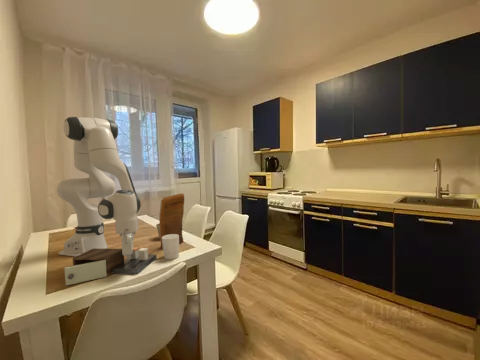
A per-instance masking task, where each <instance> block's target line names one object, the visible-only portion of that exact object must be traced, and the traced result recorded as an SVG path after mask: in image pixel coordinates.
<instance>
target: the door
mask: <svg viewBox="0 0 480 360" xmlns="http://www.w3.org/2000/svg"><path fill="white" fill-rule="evenodd" d="M107 276H108V275H107V272H106V260H101V261H96V262H91V263H86V264H81V265H75V266H73V265H72V266H67V267H66V266H65V267H64V280H65V286H71V285H75V284H79V283H84V282H88V281H92V280H96V279H101V278H107Z"/></svg>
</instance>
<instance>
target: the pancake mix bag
mask: <svg viewBox="0 0 480 360" xmlns="http://www.w3.org/2000/svg"><path fill="white" fill-rule="evenodd" d="M184 207H185V194H184V193H183V192H182V193H177V194H173V195H168V196H164V197H162V199H161V200H160V209H159V223H158V224H160V239H159V240H160V250H163V245H162V237H163V236H165V235H169V234H178V235H179V245H180V244H182V243H184V236H183V218H184V214H185V211H184V210H185V208H184Z"/></svg>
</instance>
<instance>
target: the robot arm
mask: <svg viewBox="0 0 480 360" xmlns="http://www.w3.org/2000/svg"><path fill="white" fill-rule="evenodd" d="M63 132H64V134H65V136H66V138H68V139H70V140H73V161H74V162H73V164H74V165H73V166H74V168H75V169H76V170H78V171H79V172H82V173H85V174H87V175H88V177H85V178H84V177H83V178H70V179H69V178H68V179H64V180H61V181H60V182H59V183H58V185H57V187H56V193H57V195H58V197H59V198H60V199H62V200H64V201H65V202H67V203H69V204H70V205H71V206H72V207H73V209H74V211H75V213H76V219H77V225H76V226H75V227H73V231H75V232H74V233H73V234H72V235H71V236H70V237H68V239H66V240H65V241H64V244H63V249H62V250H60V251H58V255H60V256H67V257H69V256H70V257H76V256H78V255H80V254H83V253H85V252H87V251H89V250H91V249H109V248H108V245H107V241H106V238H105V237H106V236H105V226H104V225H105V223H104V221H103V219H104V220H114V219H115V233H116V234H117V235H119V237H121V249H122V254H123V255H124V256H126V260H128V259H131V254H132V252H133V247H134V240H135V235H136V232H138V231H139V218H138V215H137V214H138V213H139V211H140V209H141V207H142V204H141V200H140V198H139V196H138V194H137V192H136V189H135V185H134V182H133V179H132V177H131V173H130V171H129V169H128V166H127V165H126V164H125V162H123V161H122V159H121V158H120V155H119V153H118V149H117V144H116V139H117V138H118V136H119V128H118V125H117V123H116V122H115V121H114V120H110V119H103V118H99V117H86V116H85V117H80V116H79V117H77V116H70V117H67V118H66V119H65V120H64V123H63ZM105 173H107V174H110V175H111V176H114V177H115V178H116V179H117V180H118V183H119V185H120V188H121V189H119V190H118V189H117V190H116V182H115V180H113V179H112V178H110V177H109V176H108V175H106V174H105ZM115 190H116V191H115ZM105 197H106V198H105ZM97 198H98V199H99V198H103V199H101V200H100V202H99V203H98V205H96V204H92V203H89V200H90V199H97Z"/></svg>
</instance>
